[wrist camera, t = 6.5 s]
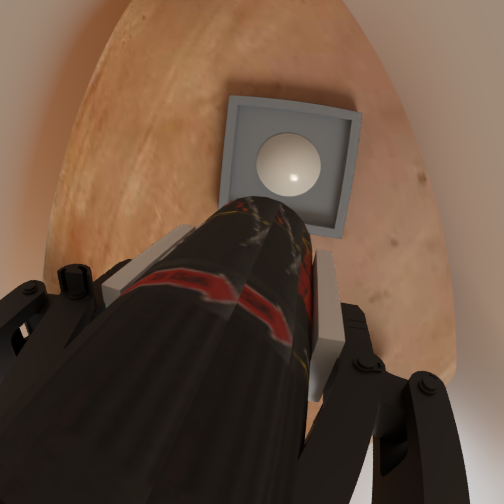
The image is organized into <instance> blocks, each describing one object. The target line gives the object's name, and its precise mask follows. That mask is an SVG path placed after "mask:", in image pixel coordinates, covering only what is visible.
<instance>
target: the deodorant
mask: <svg viewBox="0 0 504 504" xmlns="http://www.w3.org/2000/svg"><path fill="white" fill-rule="evenodd" d="M311 331H312V245H311V239H310V234H309V232H308V230H307V228H306V226H305V224H304V222H303V221H302V219H301V218H300V217H299V216H298V215H297V214H296V212H295V211H294V210H292V209H291V208H289V207H288V206H286V205H285V204H284V203H282V202H280V201H277V200H274V199H271V198H268V197H261V196H248V197H243V198H238V199H236V200H234V201H232V202H230V203H228V204H226V205H224V206H223V207H222V208H221V209H219V210H218V211H217V212H216V213H214V214H213V215H212V216H211V217H209V218H208V219H207V220H206V221H205V222H203V223H202V224H201V225H200V226H199V227H197V228H196V229H195V230H194V231H193V232H191V233H190V234H189V235H188V236H187V237H185V238H184V239H183V240H182V241H181V242H180V243H178V244H177V245H176V246H175V247H174V248H173V249H171V250H170V251H169V252H168V253H167V254H166V255H165V256H163V257H162V258H161V259H160V260H159V261H158V262H157V263H155V264H154V265H153V266H152V267H151V268H150V269H149V270H147V271H146V272H145V273H144V274H143V275H142V276H141V277H140V278H139V279H137V280H136V281H135V282H134V283H133V284H132V285H131V286H130V287H129V288H127V289H126V290H125V291H124V292H123V293H122V294H121V295H120V296H119V297H118V298H117V299H116V300H114V301H113V302H112V303H111V304H110V305H109V306H108V307H107V308H106V309H105V310H104V311H103V312H102V313H101V314H100V315H99V316H98V317H96V318H95V319H94V320H93V321H92V322H91V323H90V324H89V325H88V326H87V327H86V328H85V329H84V330H83V331H82V332H81V333H80V334H79V335H78V336H77V337H76V338H75V339H74V340H73V341H72V342H71V343H70V344H69V345H68V346H67V347H66V348H65V349H64V350H63V351H62V352H61V353H60V354H59V355H58V356H57V357H56V358H55V359H54V360H53V361H52V362H51V363H50V364H49V365H48V366H47V367H46V368H45V370H44V371H43V372H42V373H41V374H40V375H39V376H38V377H37V378H36V379H35V380H34V381H33V382H32V383H31V384H30V386H29V387H28V388H27V389H26V390H25V391H24V392H23V393H22V394H21V395H20V397H19V398H18V399H17V400H16V401H15V402H14V403H13V404H12V406H11V407H10V408H9V409H8V410H7V411H6V412H5V414H4V415H3V416H2V417H1V418H0V499H1V500H2V501H3V502H4V503H5V504H292V498H293V491H294V484H295V477H296V469H297V462H298V459H299V457H300V455H301V453H302V450H303V448H304V442H305V431H306V420H307V407H308V393H309V377H310V357H311Z"/></svg>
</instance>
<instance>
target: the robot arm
mask: <svg viewBox="0 0 504 504" xmlns="http://www.w3.org/2000/svg"><path fill="white" fill-rule="evenodd" d="M194 230H195V226H191V225H185V224H180V225H179V226H178V227H176V228H175V229H173V230H172V231H171V232H169V233H168V234H167V235H165V236H164V237H162V238H161V239H160V240H158V241H157V242H156V243H154V244H153V245H152V246H150V247H149V248H148V249H146V250H145V251H144V252H142V253H141V254H140V255H138V256H137V257H136V258H134V259H133V260H131V259H127V260H125V261H122V262H119V263H118V264H116V265H115V266H114V267H112V268H111V269H110V270H108V271H107V272H106V274H103V275H102V276H100V277H99V278H98V279H96V280H95V281H94V282H93V280H92V272H91V269H90V267H88V266H87V265H83V264H71V265H67V266H64V267H62V268H60V269H59V270H58V271H57V274H58V279H59V284H60V289H61V293H60V294H59V295H55V294H47V291H46V287H45V284H44V283H43V282H41V281H37V280H33V281H32V280H30V281H28V282H25V283H23V284H21V285H20V286H18V287H17V288H15V289H14V290H13V291H12V292H10V293H9V294H7V295H6V296H5V297H4V298H2V299H1V300H0V418H1V417H2V416H3V415H4V414H5V412H6V411H7V410H8V409H9V408H10V407H11V406H12V404H13V403H14V402H15V401H16V400H17V399H18V398H19V397H20V395H21V394H22V393H23V392H24V391H25V390H26V389H27V388H28V387H29V386H30V384H31V383H32V382H33V381H34V380H35V379H36V378H37V377H38V376H39V375H40V374H41V373H42V372H43V371H44V370H45V368H46V367H47V366H48V365H49V364H50V363H51V362H52V361H53V360H54V359H55V358H56V357H57V356H58V355H59V354H60V353H61V352H62V351H63V350H64V349H65V348H66V347H67V346H68V345H69V344H70V343H71V342H72V341H73V340H74V339H75V338H76V337H77V336H78V335H79V334H80V333H81V332H82V331H83V330H84V329H85V328H86V327H87V326H88V325H89V324H90V323H91V322H92V321H93V320H94V319H95V318H96V317H98V316H99V315H100V314H101V313H102V312H103V311H104V310H105V309H106V308H107V307H108V306H109V305H110V304H111V303H112V302H113V301H114V300H116V299H117V298H118V297H119V296H120V295H121V294H122V293H123V292H124V291H125V290H126V289H127V288H129V287H130V286H131V285H132V284H133V283H134V282H135V281H136V280H137V279H139V278H140V277H141V276H142V275H143V274H144V273H145V272H146V271H147V270H149V269H150V268H151V267H152V266H153V265H154V264H155V263H157V262H158V261H159V260H160V259H161V258H162V257H163V256H165V255H166V254H167V253H168V252H169V251H170V250H171V249H173V248H174V247H175V246H176V245H177V244H178V243H180V242H181V241H182V240H183V239H184V238H185V237H187V236H188V235H189V234H190V233H191V232H193V231H194ZM23 323H24V324H25V326H26V329H27V332H28V334H29V335H28V336H27V337H25V338H24V337H23V335H22V333H21V331H20V328H19V327H20V326H22V325H23ZM322 394H323V404H322V406H321V408H320V410H319V412H318V414H317V416H316V418H315V419H314V421H313V425H312V427H311V429H310V431H309V433H308V435H307V437H306V439H305V442H304V448H303V450H302V453H301V455H300V457H299V459H298V462H297V469H296V477H295V484H294V491H293V498H292V504H349V502H350V499H351V497H352V494H353V492H354V489H355V486H356V484H357V481H358V477H359V475H360V472H361V469H362V466H363V463H364V460H365V456H366V453H367V450H368V446H369V443H370V439H371V436H372V435H373V487H372V504H470V499H469V490H468V483H467V477H466V470H465V465H464V459H463V454H462V449H461V444H460V440H459V435H458V431H457V427H456V423H455V419H454V415H453V411H452V408H451V404H450V401H449V397H448V394H447V391H446V387H445V385H444V384H443V382H442V381H441V380H440V379H439V378H438V377H437V376H436V375H434V374H432V373H430V372H426V371H417V372H415V373H413V374H412V375H411V377H410V379H409V380H407V379H404V378H401V377H398V376H395V375H393V374H390V373H388V372H387V371H386V369H385V364H384V363H383V361H382V360H381V359H380V358H379V357H378V356H377V355H375V354H374V353H373V349H372V344H371V340H370V335H369V331H368V327H367V324H366V318H365V314H364V313H363V311H362V310H361V309H360V308H359V307H358V305H352V304H346V303H341V302H340V297H339V291H338V284H337V278H336V272H335V266H334V260H333V254H332V252H331V251H326V250H320V249H316V253H315V257H314V262H313V266H312V331H311V357H310V377H309V393H308V401H314V402H319V400H320V398H321V396H322ZM0 504H5V503H4V502H3V501H2V500H1V499H0Z"/></svg>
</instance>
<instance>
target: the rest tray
mask: <svg viewBox="0 0 504 504" xmlns="http://www.w3.org/2000/svg"><path fill="white" fill-rule="evenodd" d="M361 120H362V113H360V112H355V111H350V110H345V109H340V108H335V107H330V106H324V105H318V104H312V103H305V102H298V101H290V100H282V99H273V98H262V97H250V96H233V95H229V103H228V112H227V121H226V131H225V140H224V150H223V161H222V172H221V183H220V195H219V207H218V210H219V209H221V208H222V207H223V206H224V205H226V204H228V203H230V202H232V201H234V200H236V199H238V198H243V197H248V196H261V197H268V198H271V199H274V200H277V201H280V202H282V203H284V204H285V205H286V206H288V207H289V208H291V209H292V210H294V211H295V212H296V214H297V215H298V216H299V217H300V218H301V219H302V221H303V222H304V224H305V226H306V228H307V230H308V232H309V234H313V235H319V236H325V237H331V238H337V239H342V234H343V230H344V225H345V220H346V215H347V210H348V204H349V199H350V193H351V188H352V182H353V176H354V170H355V163H356V157H357V150H358V143H359V136H360V128H361Z"/></svg>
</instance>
